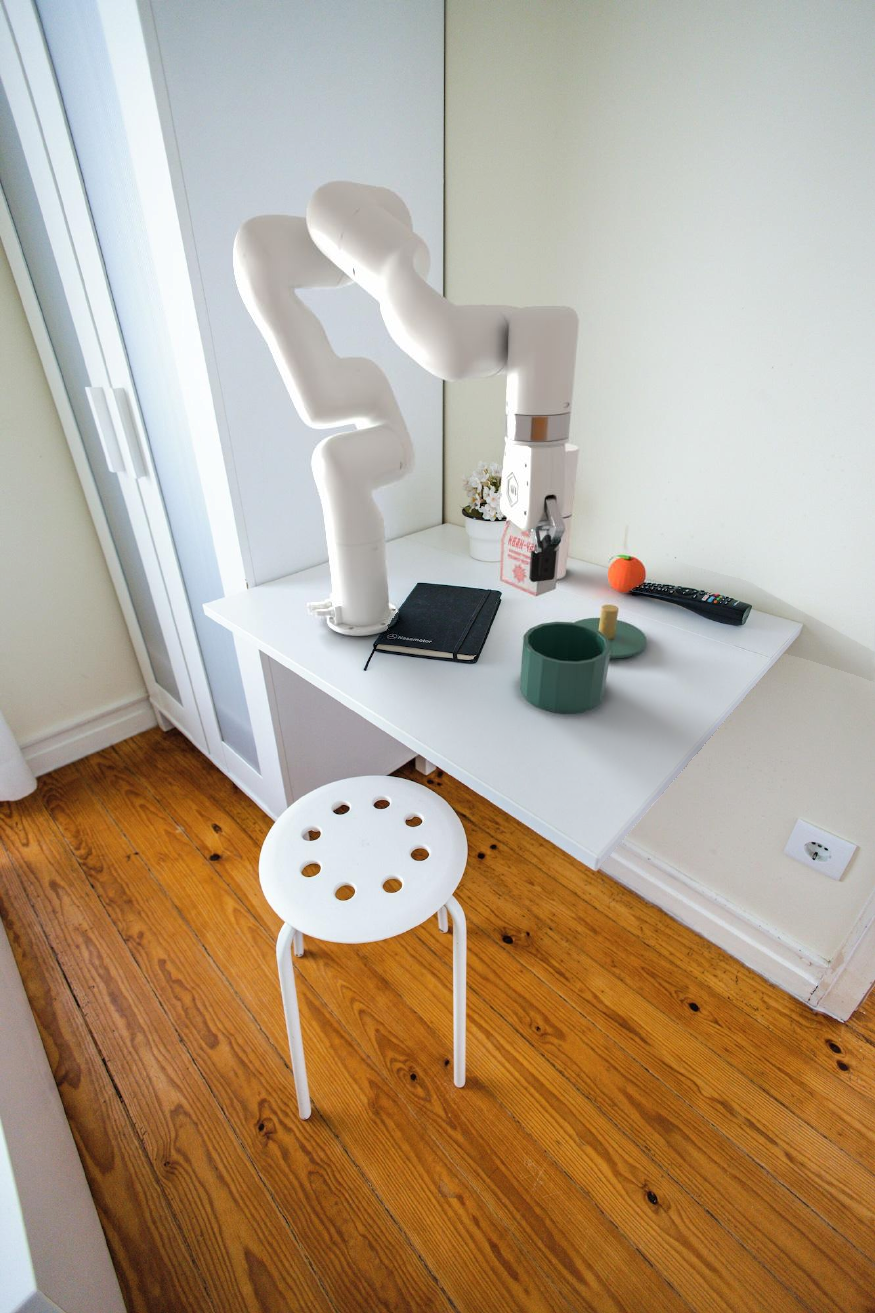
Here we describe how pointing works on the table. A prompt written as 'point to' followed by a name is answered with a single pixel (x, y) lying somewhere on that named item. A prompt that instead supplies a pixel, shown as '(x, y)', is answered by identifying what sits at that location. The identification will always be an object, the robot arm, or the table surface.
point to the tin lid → (617, 632)
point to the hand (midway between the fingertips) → (528, 567)
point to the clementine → (626, 573)
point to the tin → (564, 667)
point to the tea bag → (522, 560)
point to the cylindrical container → (567, 505)
